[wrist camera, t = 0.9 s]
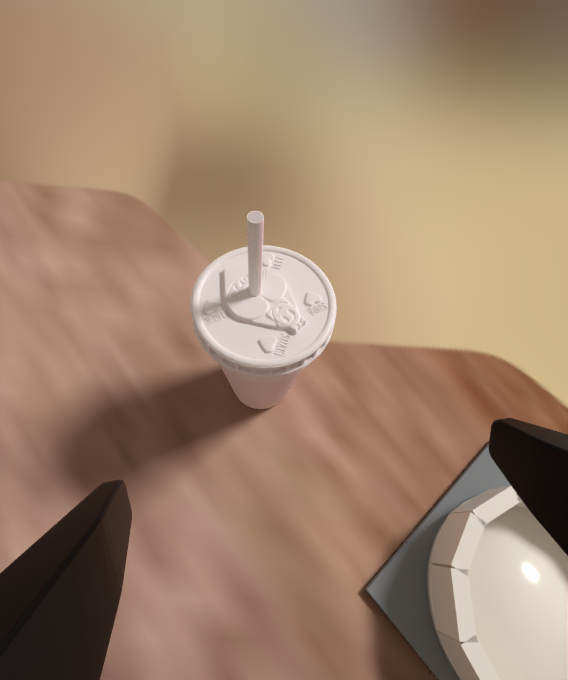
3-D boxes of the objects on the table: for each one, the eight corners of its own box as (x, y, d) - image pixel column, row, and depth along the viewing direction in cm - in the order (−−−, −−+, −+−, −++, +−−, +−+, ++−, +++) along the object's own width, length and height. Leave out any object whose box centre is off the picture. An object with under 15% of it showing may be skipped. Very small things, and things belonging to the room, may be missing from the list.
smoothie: (256, 322, 27) (259, 137, 14) (328, 377, 25) (401, 223, 13) (190, 386, 24) (123, 228, 12) (265, 452, 22) (280, 350, 10)
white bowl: (665, 747, 17) (741, 786, 15) (440, 734, 17) (475, 771, 14) (592, 499, 22) (638, 494, 19) (417, 485, 22) (439, 478, 19)
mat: (674, 610, 20) (682, 612, 20) (568, 840, 16) (575, 847, 16) (490, 439, 24) (494, 438, 23) (364, 588, 20) (366, 589, 19)
